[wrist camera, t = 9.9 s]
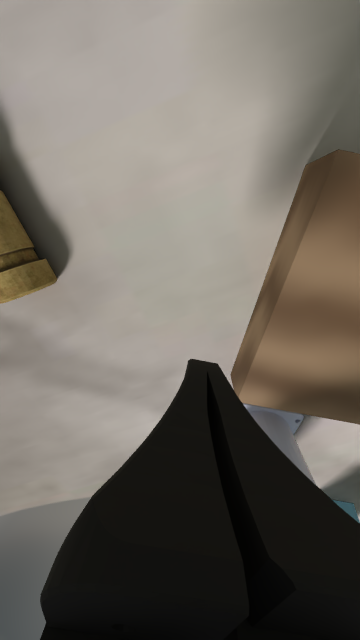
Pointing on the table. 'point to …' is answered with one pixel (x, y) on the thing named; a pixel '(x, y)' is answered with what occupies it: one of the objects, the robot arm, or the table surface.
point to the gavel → (19, 258)
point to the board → (310, 302)
